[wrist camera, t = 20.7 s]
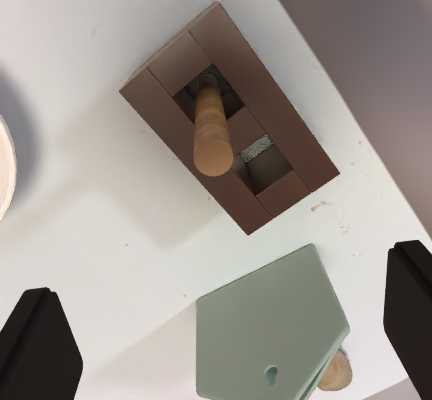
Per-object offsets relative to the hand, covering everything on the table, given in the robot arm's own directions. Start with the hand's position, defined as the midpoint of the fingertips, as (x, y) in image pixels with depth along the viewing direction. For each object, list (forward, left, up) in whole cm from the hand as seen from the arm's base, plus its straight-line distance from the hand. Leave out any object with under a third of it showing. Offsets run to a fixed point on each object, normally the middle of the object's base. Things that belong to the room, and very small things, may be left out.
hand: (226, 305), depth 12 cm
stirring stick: (0, 0, -32) cm, 32 cm away
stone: (+40, +11, -32) cm, 53 cm away
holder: (+3, +2, -32) cm, 32 cm away
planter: (+27, +4, -32) cm, 42 cm away
